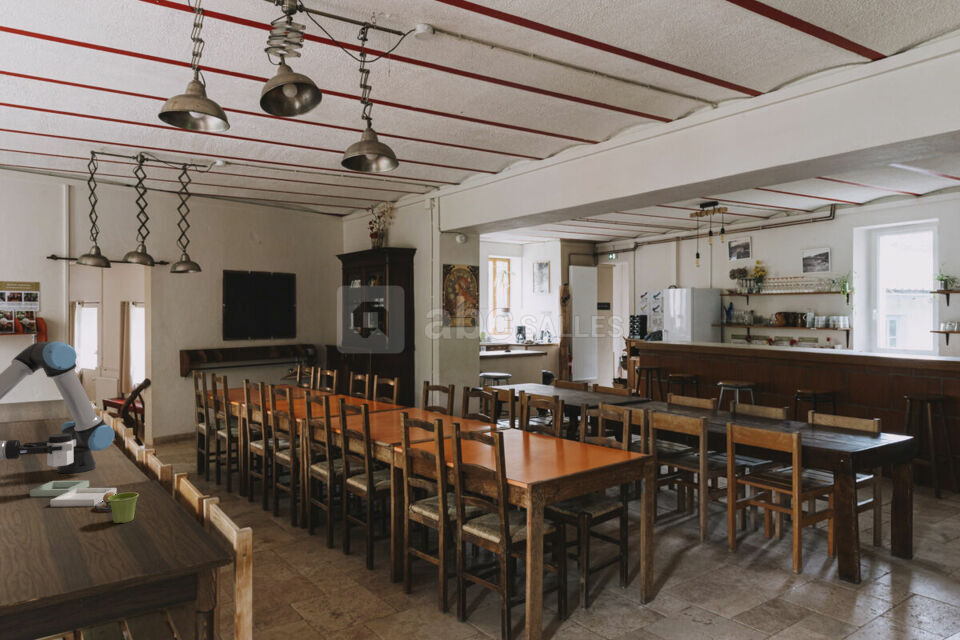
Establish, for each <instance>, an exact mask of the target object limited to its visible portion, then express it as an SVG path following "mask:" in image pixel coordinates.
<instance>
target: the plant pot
mask: <svg viewBox="0 0 960 640" xmlns="http://www.w3.org/2000/svg"><path fill="white" fill-rule="evenodd" d="M139 495H140V494H139V493H138V492H121V493H117V494H116V495H113V496H110V497H109V498H108V500H109V502H110V504H111V509H112V512H111V515H112V520H113V523H114V524H119V523H124V524H125V523H129V522H132V521H133V520H134V519H135V512H136V503H137V500H138V497H139Z"/></svg>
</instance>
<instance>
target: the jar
mask: <svg viewBox="0 0 960 640" xmlns="http://www.w3.org/2000/svg"><path fill="white" fill-rule="evenodd" d="M47 438H48V440H47V441H48V443H47V446H52V447H53V445H60V444H72V451H60V452H53V451H52V454H49V453H48V454H47V453H46V454H47V455H46V465H47V466H48V467H54V468H57V466H65V465H69V464H71V463H73V462H74V456H73V440H72V434H70V433H62V432H61V433H55V434H51V435H50V434H49V435H48V436H47Z"/></svg>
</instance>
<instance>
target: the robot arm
mask: <svg viewBox="0 0 960 640" xmlns="http://www.w3.org/2000/svg"><path fill="white" fill-rule="evenodd" d="M77 357H78V354H77V352H76V349H75V348H74V347H73V346H71V345H70V344H69V343H66V342H61V341H37V342H35V343H33V344H31V345H28V346H27V347H26V348H25V349H23V350H22V351H21V352H20V353H19V354H17V355H16V356H15V357H14V358H13V359H12V360H11V364H10V365H8V367H6V368H4V370H3V371H2V372H1V373H0V401H1V400H2V399H3V398H4V397H5V396H7V394H8V393H10V392H11V391H12V390H13V389H14V388H15V387H16V386H18V385H19V384H20V382H22V381H23V380H24V379H25V378H26V377H27V376H32V375H33V374H34V373H35V372H37V371H39V370H40V369H43V371H44V373H45V375H46V377H47V378H50V379H53V382H54V384H55V385H56V388H57V389H58V392H59V393H60V396H61V397H62V399H63V402H64V403H65V405H66V407H67V408H68V411H69V413H70V416H71V417H72V419H73V420H71V421H65V422H63V423H62V424H61V430H60V432H61V433H70V434H72V440H73V456H74V462H73V463H71V464H69V465H65V466H56V469H57V470H56V471H57V473H60V474H77V473H83V472H87V471H92V470H94V469H96V461H95V457H94V456H93V452H96V451H98V452H99V451H101V452H102V451H104V450H106V449H108V448H110V446H111V445H112V443H114V442H113V441H114V439H115V437H116V436H115V430H114V429H113V427H112V426H110V425H108V424H106V422H105V421H104V420H105V419H104V418H103V417H102V416H100V415H97V413H96V411H95V410H94V407H93V405H92V403H91V400H90V399H89V396H88V394H87V392H86V391H85V389H84V387H83V385H82V382H81V380H80V379H79V377H78V375H77V373H76V368H77V364H76V362H77ZM47 443H48V440H45V441H33V442H31V441H29V442H25V444H21V442H20V439H10V440H7V441H6V440H0V461H4V460H6V459H7V460H15V459H18V458H20V456H25V455H38V454H41V455H43V454H48V453H49V454H52V451H53V452H60V451H72V444H60V445H53V447H52V446H47Z"/></svg>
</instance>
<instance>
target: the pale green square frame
mask: <svg viewBox="0 0 960 640" xmlns="http://www.w3.org/2000/svg"><path fill="white" fill-rule="evenodd" d="M75 488H90V480H52V481H48V482H46V483H44V484H42V485H40V486H36V487H34V488H32V489H30V490H29V496H30V497H58V496H60V495H62V494H65V493H67V492H69V491H71V490H73V489H75Z"/></svg>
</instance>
